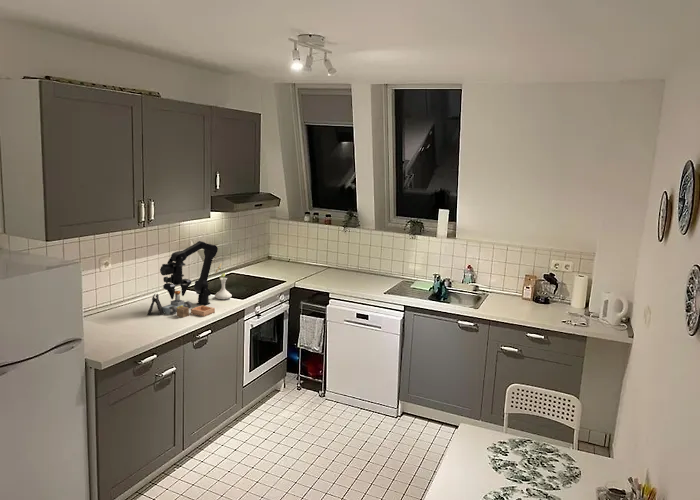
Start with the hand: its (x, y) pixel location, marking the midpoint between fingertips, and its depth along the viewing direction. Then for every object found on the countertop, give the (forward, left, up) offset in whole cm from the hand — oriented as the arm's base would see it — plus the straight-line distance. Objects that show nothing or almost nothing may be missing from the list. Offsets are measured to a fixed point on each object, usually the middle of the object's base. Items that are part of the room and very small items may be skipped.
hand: (177, 297), depth 339 cm
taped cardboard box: (+8, +11, -8) cm, 16 cm away
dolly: (+2, +1, -8) cm, 8 cm away
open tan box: (-3, +17, -8) cm, 19 cm away
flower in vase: (-36, +6, -8) cm, 37 cm away
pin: (0, 0, -4) cm, 4 cm away
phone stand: (+14, -5, -8) cm, 17 cm away
